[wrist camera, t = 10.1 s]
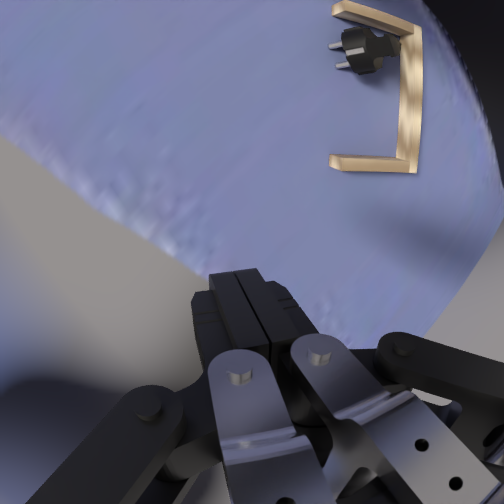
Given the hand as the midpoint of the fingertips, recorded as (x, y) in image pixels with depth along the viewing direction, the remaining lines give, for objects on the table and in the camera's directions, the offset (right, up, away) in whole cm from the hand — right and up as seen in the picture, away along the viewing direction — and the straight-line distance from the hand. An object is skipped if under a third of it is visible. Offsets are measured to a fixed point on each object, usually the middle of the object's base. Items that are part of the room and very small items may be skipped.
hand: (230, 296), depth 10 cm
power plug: (+15, +27, +21) cm, 38 cm away
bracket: (+15, +22, +24) cm, 36 cm away
